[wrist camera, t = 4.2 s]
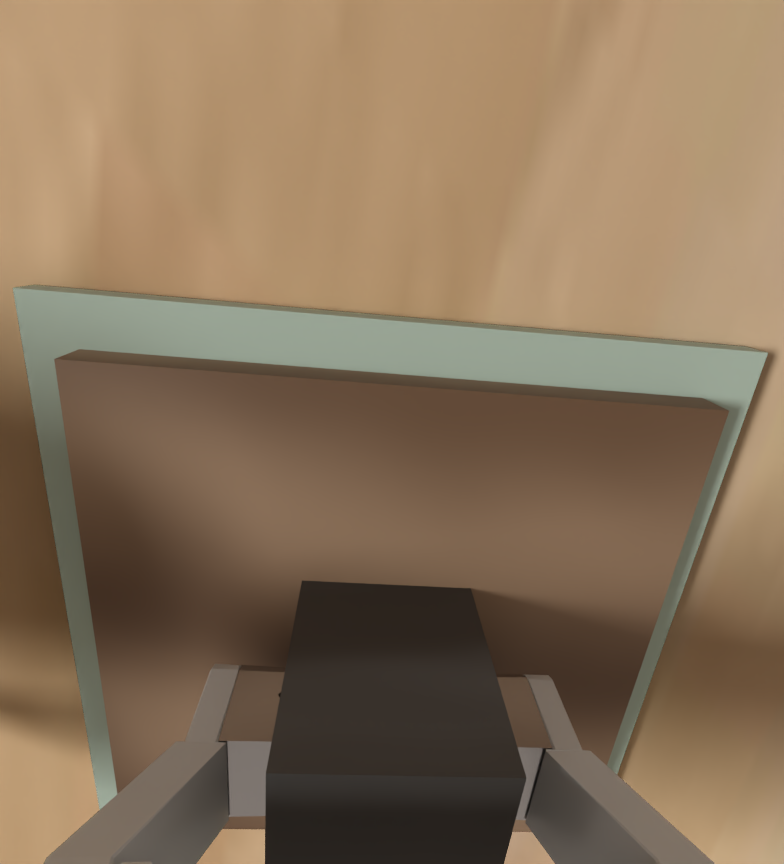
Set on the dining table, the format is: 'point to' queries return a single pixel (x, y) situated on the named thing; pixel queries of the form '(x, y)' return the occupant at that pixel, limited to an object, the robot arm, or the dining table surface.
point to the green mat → (358, 351)
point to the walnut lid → (374, 576)
